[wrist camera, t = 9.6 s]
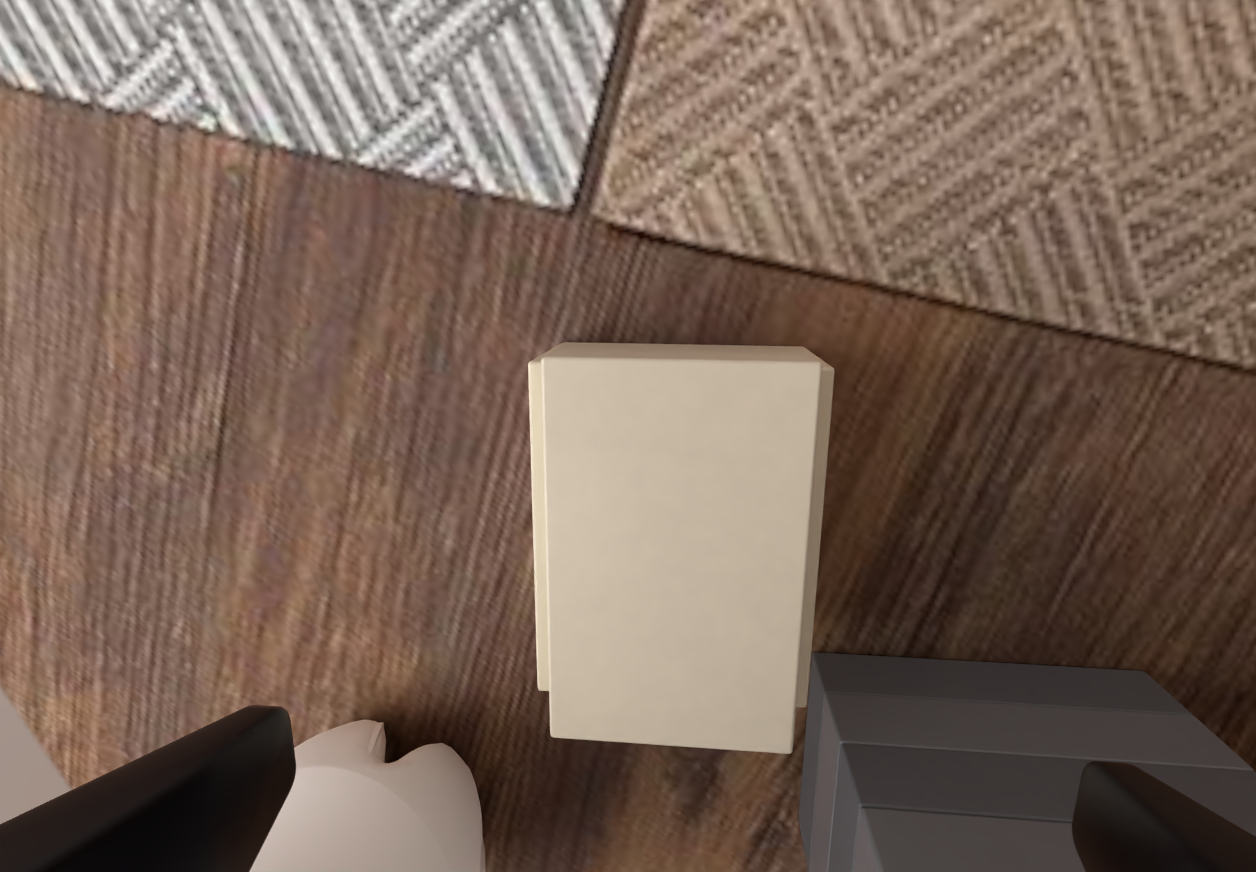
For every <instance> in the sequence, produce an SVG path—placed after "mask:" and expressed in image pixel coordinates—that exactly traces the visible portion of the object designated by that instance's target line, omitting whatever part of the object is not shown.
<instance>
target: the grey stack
mask: <svg viewBox="0 0 1256 872" xmlns="http://www.w3.org/2000/svg"><path fill="white" fill-rule="evenodd" d="M1092 761H1104V762H1119V763H1128V764H1131V765H1134V766H1136V767H1138V768H1140V769H1141V770H1143V771H1145V772H1146V773H1148V774H1150V775H1151V776H1153V777H1155V778H1157V779H1158V780H1160V781H1162V782H1163V783H1165V784H1167V785H1168V786H1170V787H1172V788H1174V789H1175V790H1177V791H1179V792H1180V793H1182V794H1184V795H1186V796H1187V797H1189V798H1191V799H1192V800H1194V801H1196V802H1197V803H1199V804H1201V805H1203V806H1204V807H1206V808H1208V809H1209V810H1211V811H1213V812H1214V813H1216V814H1218V815H1220V816H1221V817H1223V818H1225V819H1226V820H1228V821H1230V822H1232V823H1233V824H1235V825H1237V826H1238V827H1240V828H1242V829H1243V830H1245V831H1247V832H1249V833H1250V834H1252V835H1254V836H1255V837H1256V772H1254V770H1253V768H1252V767H1251V766H1250V765H1248V764H1247V763H1246V762H1245V761H1244V760H1243V759H1242V758H1241V757H1240V756H1238V755H1237V754H1236V753H1235V752H1234V751H1233V750H1232V749H1231V748H1230V747H1228V746H1227V745H1226V744H1225V743H1224V742H1223V741H1222V740H1221V739H1219V738H1218V737H1217V736H1216V735H1215V734H1214V733H1213V732H1212V731H1211V730H1209V729H1208V728H1207V727H1206V726H1205V725H1204V724H1203V723H1202V722H1200V721H1199V720H1198V719H1197V718H1196V717H1194V716H1193V715H1192V713H1191V712H1190V711H1188V710H1187V709H1186V708H1185V707H1184V706H1183V705H1182V704H1181V703H1179V702H1178V701H1177V700H1176V699H1175V698H1174V697H1173V696H1172V695H1171V694H1169V693H1168V692H1167V691H1166V690H1165V689H1164V688H1163V687H1162V686H1160V685H1159V684H1158V683H1157V682H1156V681H1155V680H1154V679H1153V678H1152V677H1150V676H1149V675H1148V674H1147V673H1146V672H1144V671H1134V670H1116V669H1099V668H1081V667H1064V666H1046V665H1029V664H1011V663H994V662H976V661H958V660H941V659H923V658H906V657H888V656H871V655H853V654H836V653H818V652H813V653H812V660H811V673H810V685H809V697H808V709H807V721H806V733H805V745H804V757H803V769H802V781H801V793H800V805H799V817H798V821H799V826H800V831H801V836H802V842H803V847H804V852H805V857H806V862H807V868H808V871H809V872H1085V869H1084V867H1083V865H1082V862H1081V860H1080V858H1079V856H1078V853H1077V851H1076V848H1075V845H1074V841H1073V836H1072V819H1073V814H1074V809H1075V804H1076V799H1077V794H1078V789H1079V784H1080V779H1081V774H1082V771H1083V768H1084V767H1085V766H1086V764H1088V763H1089V762H1092Z"/></svg>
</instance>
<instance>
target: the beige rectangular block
mask: <svg viewBox="0 0 1256 872" xmlns="http://www.w3.org/2000/svg"><path fill="white" fill-rule="evenodd" d="M556 349H567V350H622V351H677V352H732V353H787V354H810V355H812V356H813V357H814V358H816V359H817V360H818V361H820V362H821V363H822V366H823V367H822V380H821V392H820V405H819V418H818V431H817V444H816V457H815V470H814V482H813V495H812V508H811V521H810V534H809V547H808V560H807V572H806V585H805V598H804V611H803V624H802V637H801V649H800V662H799V675H798V688H797V701H796V707H802V708H804V707H806V705H807V699H808V686H809V674H810V662H811V650H812V638H813V626H814V614H815V602H816V590H817V578H818V566H819V554H820V541H821V529H822V517H823V505H824V493H825V481H826V469H827V457H828V445H829V433H830V421H831V408H832V396H833V384H834V372H835V371H834V368H833V367H831V366H830V365H828V364H827V363H826V362H824V361H823V360H822V359H820V358H819V357H817V356H816V355H814V354H813V353H812V352H810V351H809V350H807V349H806V348H805V347H802V346H748V345H691V344H634V343H578V342H564V343H561V344H560V345H558V346H556V347H554V348H553V349H551V350H549V351H548V352H546V353H544V354H542V355H540V356H539V357H537V358H535V359H534V360H532V361H530V362H529V364H528V375H529V410H530V444H531V479H532V513H533V547H534V582H535V616H536V651H537V685H538V689H539V690H540V691H549V663H548V623H547V582H546V542H545V501H544V461H543V420H542V380H541V359H542V357H544V356H545V355H547V354H549V353H550V352H552V351H554V350H556Z"/></svg>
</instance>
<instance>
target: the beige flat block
mask: <svg viewBox="0 0 1256 872" xmlns="http://www.w3.org/2000/svg"><path fill="white" fill-rule="evenodd" d="M822 367H823V366H822V363H821V362H820V361H818V360H817V359H816V358H814V357H813V356H812V355H810V354H787V353H732V352H677V351H622V350H567V349H556V350H554V351H552V352H550V353H549V354H547V355H545V356H544V357H542V359H541V380H542V420H543V461H544V501H545V542H546V582H547V623H548V663H549V704H550V734H551V737H554V738H568V739H583V740H597V741H611V742H626V743H640V744H654V745H668V746H683V747H697V748H711V749H726V750H740V751H754V752H769V753H783V754H790V753H792V750H793V739H794V727H795V714H796V701H797V688H798V675H799V662H800V649H801V637H802V624H803V611H804V598H805V585H806V572H807V560H808V547H809V534H810V521H811V508H812V495H813V482H814V470H815V457H816V444H817V431H818V418H819V405H820V392H821V380H822Z"/></svg>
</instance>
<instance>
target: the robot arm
mask: <svg viewBox="0 0 1256 872" xmlns="http://www.w3.org/2000/svg"><path fill="white" fill-rule="evenodd" d="M295 775H296V759H295V751H294V744H293V736H292V729H291V721H290V717H289V714H288V712H287V711H286V710H285V709H284V708H282V707H277V706H262V705H252V706H248V707H245V708H243V709H241V710H239V711H237V712H235V713H233V714H230V715H228V716H226V717H224V718H222V719H220V720H218V721H216V722H214V723H212V724H209V725H207V726H205V727H203V728H201V729H199V730H197V731H195V732H193V733H191V734H189V735H186V736H184V737H182V738H180V739H178V740H176V741H174V742H172V743H170V744H168V745H166V746H163V747H161V748H159V749H157V750H155V751H153V752H151V753H149V754H147V755H145V756H143V757H140V758H138V759H136V760H134V761H132V762H130V763H128V764H126V765H124V766H122V767H119V768H117V769H115V770H113V771H111V772H109V773H107V774H105V775H103V776H101V777H99V778H96V779H94V780H92V781H90V782H88V783H86V784H84V785H82V786H80V787H78V788H76V789H73V790H71V791H69V792H67V793H65V794H63V795H61V796H59V797H57V798H55V799H53V800H51V801H49V802H46V803H44V804H42V805H40V806H38V807H36V808H34V809H32V810H30V811H27V812H25V813H23V814H21V815H19V816H17V817H15V818H13V819H11V820H9V821H6V822H5V823H2V824H0V872H250V870H251V868H252V866H253V864H254V862H255V860H256V858H257V856H258V854H259V852H260V850H261V848H262V846H263V844H264V842H265V840H266V838H267V836H268V834H269V832H270V830H271V828H272V826H273V824H274V822H275V820H276V818H277V816H278V814H279V812H280V810H281V808H282V806H283V804H284V802H285V800H286V798H287V796H288V794H289V792H290V790H291V788H292V786H293V783H294V779H295ZM1072 836H1073V841H1074V845H1075V848H1076V851H1077V853H1078V856H1079V858H1080V860H1081V862H1082V865H1083V867H1084V869H1085V872H1256V837H1255V836H1254V835H1252V834H1250V833H1249V832H1247V831H1245V830H1243V829H1242V828H1240V827H1238V826H1237V825H1235V824H1233V823H1232V822H1230V821H1228V820H1226V819H1225V818H1223V817H1221V816H1220V815H1218V814H1216V813H1214V812H1213V811H1211V810H1209V809H1208V808H1206V807H1204V806H1203V805H1201V804H1199V803H1197V802H1196V801H1194V800H1192V799H1191V798H1189V797H1187V796H1186V795H1184V794H1182V793H1180V792H1179V791H1177V790H1175V789H1174V788H1172V787H1170V786H1168V785H1167V784H1165V783H1163V782H1162V781H1160V780H1158V779H1157V778H1155V777H1153V776H1151V775H1150V774H1148V773H1146V772H1145V771H1143V770H1141V769H1140V768H1138V767H1136V766H1134V765H1131V764H1128V763H1119V762H1104V761H1092V762H1089V763H1088V764H1086V766H1085V767H1084V768H1083V771H1082V774H1081V779H1080V784H1079V789H1078V794H1077V799H1076V804H1075V809H1074V814H1073V819H1072Z"/></svg>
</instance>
